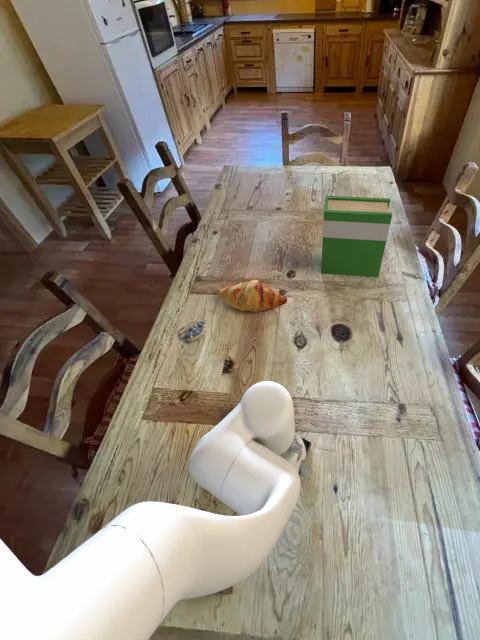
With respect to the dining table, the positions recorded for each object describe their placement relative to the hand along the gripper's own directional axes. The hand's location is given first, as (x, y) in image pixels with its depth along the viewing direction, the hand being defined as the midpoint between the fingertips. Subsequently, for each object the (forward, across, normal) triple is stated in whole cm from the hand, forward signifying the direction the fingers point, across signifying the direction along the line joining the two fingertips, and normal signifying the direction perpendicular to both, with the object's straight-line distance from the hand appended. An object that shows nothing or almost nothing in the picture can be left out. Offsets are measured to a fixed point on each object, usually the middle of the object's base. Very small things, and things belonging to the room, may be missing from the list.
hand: (278, 466), depth 67 cm
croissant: (+3, +28, -35) cm, 45 cm away
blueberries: (+3, +36, -19) cm, 41 cm away
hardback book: (+3, +7, -60) cm, 60 cm away
